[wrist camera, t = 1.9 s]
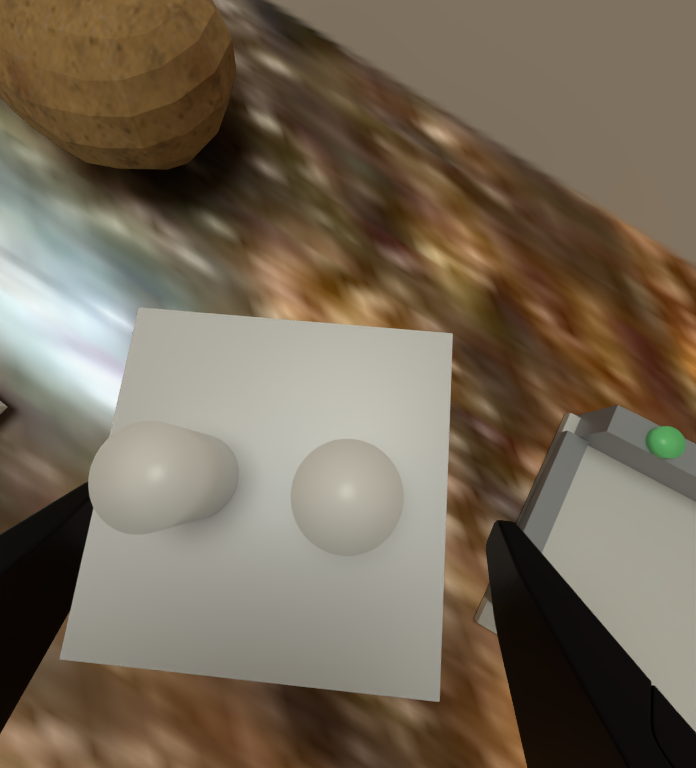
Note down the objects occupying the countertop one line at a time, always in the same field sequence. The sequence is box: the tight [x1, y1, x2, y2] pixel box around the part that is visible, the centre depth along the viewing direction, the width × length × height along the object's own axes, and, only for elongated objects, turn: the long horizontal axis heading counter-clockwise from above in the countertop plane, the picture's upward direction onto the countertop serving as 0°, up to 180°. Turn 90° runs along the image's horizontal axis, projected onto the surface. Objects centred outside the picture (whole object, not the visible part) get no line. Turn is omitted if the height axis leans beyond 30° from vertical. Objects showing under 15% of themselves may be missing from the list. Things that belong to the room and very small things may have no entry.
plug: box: [60, 308, 453, 702], centre depth 11 cm, size 7×7×14 cm
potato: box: [0, 0, 236, 169], centre depth 19 cm, size 10×14×8 cm
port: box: [474, 405, 696, 732], centre depth 15 cm, size 10×11×3 cm
